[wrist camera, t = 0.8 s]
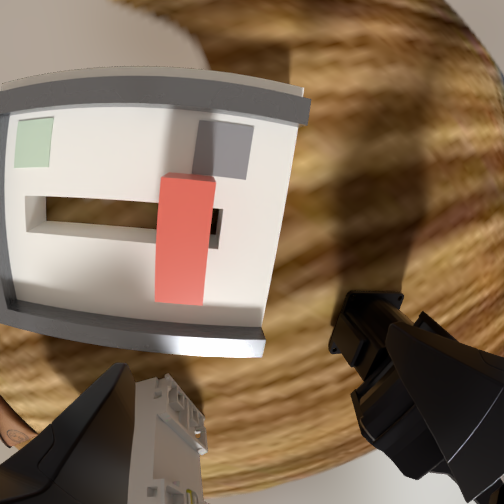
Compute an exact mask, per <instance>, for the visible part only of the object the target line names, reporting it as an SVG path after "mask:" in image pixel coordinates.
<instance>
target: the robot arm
mask: <svg viewBox="0 0 504 504" xmlns="http://www.w3.org/2000/svg"><path fill="white" fill-rule="evenodd" d="M353 295H354V296H353ZM352 296H353V297H352ZM351 297H352V298H351ZM403 299H404V295H403V294H402V293H401V292H389V291H350V292H348V293H347V295H346V298H345V301H344V304H343V307H342V311H341V314H340V315H339V318H338V321H337V324H336V327H335V330H334V332H333V335H332V340H331V342H330V345H329V351H330V353H331V354H340V353H342V355H343V356H344V358H345V359H346V361H347V362H348V364H349V365H350V367H354V368H355V369H356V371H357V372H358V374H359V375H360V377H361V378H362V380H363V381H364V382H363V383H362V384H361V385H360V386H359V387H358V388H357V389H355V390H354V391H353V392H352V393H351V398H352V402H353V405H354V409H355V413H356V416H357V420H358V424H359V427H360V430H361V434H362V436H363V437H365V438H366V440H367V441H368V442H369V443H370V444H372V445H373V446H374V447H375V448H377V449H379V450H381V451H383V452H384V453H385V454H386V455H387V456H388V457H389V458H390V459H391V460H392V461H393V462H394V463H395V465H396V466H397V467H398V468H399V470H400V471H401V472H402V473H403V475H405V476H406V477H409V478H412V479H415V480H419V479H420V478H422V477H423V476H424V475H426V474H427V473H428V472H430V473H438V474H447V475H448V476H449V477H451V478H452V479H453V480H454V481H455V482H456V483H457V484H458V486H459V488H460V490H461V492H462V494H463V497H464V499H465V501H466V502H467V503H469V502H470V501H472V500H474V501H475V502H476V503H477V504H504V357H501V356H497V355H494V354H491V353H488V352H485V351H482V350H478V349H476V348H473V347H471V346H468V345H465V344H462V343H459V342H458V341H457V340H456V339H455V338H454V337H453V336H452V335H450V334H449V333H448V332H447V331H446V330H445V329H444V328H442V327H441V326H440V325H439V324H438V323H437V322H435V321H434V320H433V319H432V318H431V317H429V316H428V315H427V314H426V313H425V312H424V311H422V312H421V314H420V315H419V318H418V319H417V321H416V322H415V323H413V322H412V321H411V320H410V319H409V318H408V317H407V316H406V315H404V314H403V313H402V312H401V311H400V310H399V309H400V306H401V304H402V301H403ZM334 348H335V349H334ZM135 393H136V384H135V380H134V378H133V375H132V373H131V371H130V368H129V366H128V364H126V363H115V364H113V365H112V366H111V367H110V368H109V369H108V370H107V371H106V372H105V373H104V374H103V375H101V376H100V377H99V378H98V379H97V380H96V381H95V382H94V383H93V384H92V385H91V386H90V387H89V388H88V389H86V390H85V391H84V392H83V393H82V394H81V395H80V396H79V397H78V398H77V399H76V400H75V401H74V402H73V403H72V404H71V405H69V406H68V407H67V408H66V409H65V410H64V411H63V412H62V413H61V414H60V415H59V416H58V417H57V418H56V419H55V420H54V421H53V422H52V424H49V425H48V426H47V427H46V428H45V429H44V430H43V431H42V432H41V433H40V434H38V435H37V436H36V437H35V438H34V439H33V440H32V441H30V442H29V443H28V444H27V445H25V446H24V447H23V448H22V449H20V450H19V451H18V452H16V453H15V454H14V455H12V456H11V457H10V458H9V459H7V460H6V461H5V462H3V463H2V464H0V504H127V503H128V487H129V474H130V463H131V453H132V444H133V436H134V427H135Z"/></svg>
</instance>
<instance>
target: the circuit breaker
mask: <svg viewBox="0 0 504 504" xmlns="http://www.w3.org/2000/svg"><path fill="white" fill-rule="evenodd" d="M135 384H136V393H135V427H134V436H133V444H132V453H131V463H130V474H129V487H128V503H127V504H209V503H207V502H205V501H204V499H203V490H202V479H201V468H200V456H199V454H201V455H203V454H205V453H207V452H208V447H207V436H206V428H205V427H204V420H205V417H204V416H203V414H202V413H201V412H200V411H199V410H198V409H197V408H196V406H195V405H194V404H193V403H192V402H191V400H190V399H189V398H188V397H187V396H186V394H185V393H184V392H183V391H182V389H181V388H180V387H179V386H178V384H177V383H176V382H175V381H174V379H173V378H172V377H171V376H170V374H169V373H168V374H165V378H163V379H159V380H158V378H157V377H155V378H151V379H147V380H144V381H140V382H136V383H135ZM178 393H179V394H180V395H178ZM198 433H201V437H200V438H196V437H195V434H198Z"/></svg>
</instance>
